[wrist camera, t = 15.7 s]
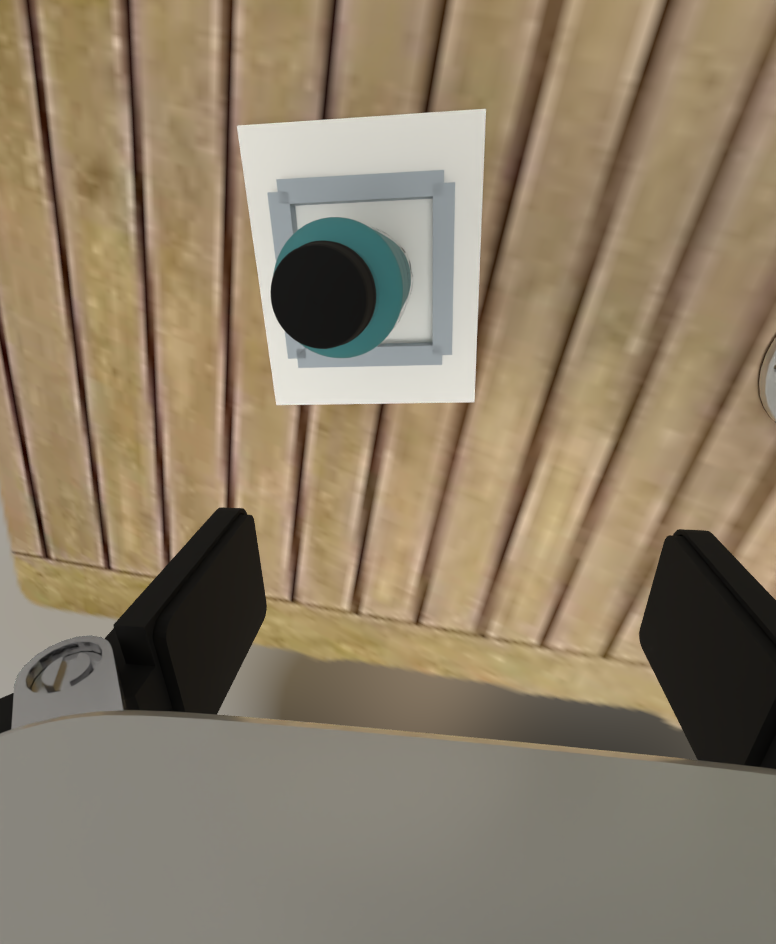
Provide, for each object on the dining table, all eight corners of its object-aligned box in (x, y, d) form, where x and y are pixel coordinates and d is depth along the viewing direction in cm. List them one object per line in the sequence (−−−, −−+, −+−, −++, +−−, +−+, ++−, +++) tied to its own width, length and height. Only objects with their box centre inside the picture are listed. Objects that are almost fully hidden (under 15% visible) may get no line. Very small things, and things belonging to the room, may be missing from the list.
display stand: (481, 120, 34) (488, 102, 30) (471, 392, 42) (475, 407, 38) (251, 135, 35) (228, 120, 31) (285, 395, 44) (271, 410, 40)
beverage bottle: (319, 303, 37) (214, 350, 19) (347, 214, 34) (255, 170, 16) (395, 335, 38) (365, 411, 20) (429, 250, 35) (429, 246, 17)
